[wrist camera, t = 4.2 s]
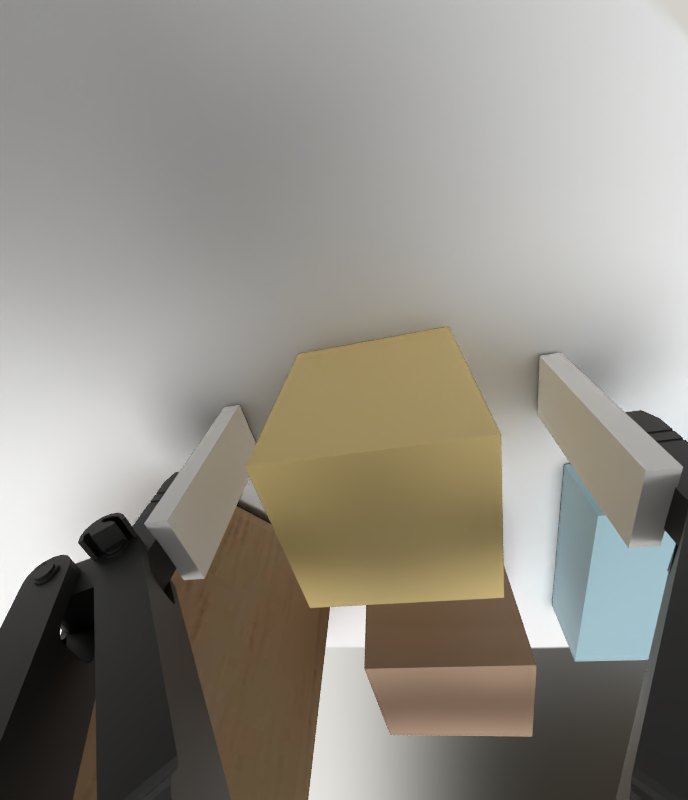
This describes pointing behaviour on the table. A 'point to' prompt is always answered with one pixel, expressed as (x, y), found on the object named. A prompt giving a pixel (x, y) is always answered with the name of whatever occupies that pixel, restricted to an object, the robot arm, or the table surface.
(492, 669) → the brick
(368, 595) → the brick
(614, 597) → the base brick
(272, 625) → the wooden block
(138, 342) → the table surface
